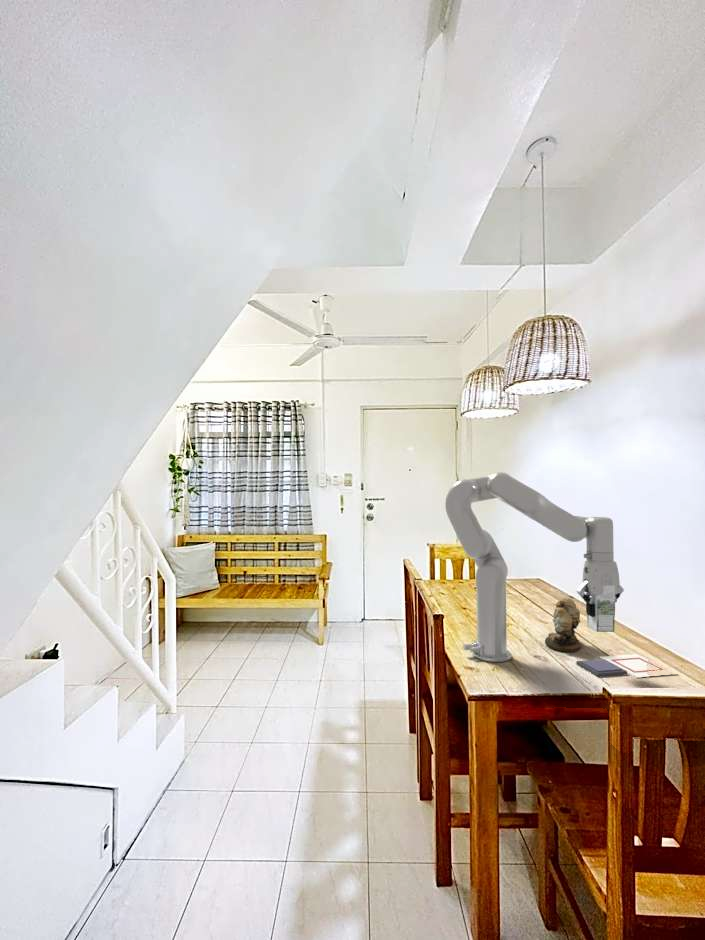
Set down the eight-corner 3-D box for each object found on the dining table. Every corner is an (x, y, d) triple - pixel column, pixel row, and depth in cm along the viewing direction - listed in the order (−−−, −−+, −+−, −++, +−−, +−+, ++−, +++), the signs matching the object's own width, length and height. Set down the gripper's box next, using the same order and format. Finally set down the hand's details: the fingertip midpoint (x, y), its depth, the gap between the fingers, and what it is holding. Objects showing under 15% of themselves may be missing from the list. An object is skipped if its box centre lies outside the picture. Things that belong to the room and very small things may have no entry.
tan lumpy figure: (545, 635, 187) (545, 590, 187) (579, 639, 182) (579, 593, 182) (544, 650, 170) (544, 600, 170) (582, 655, 165) (582, 604, 166)
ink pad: (597, 676, 147) (597, 672, 147) (576, 664, 157) (576, 660, 157) (626, 674, 149) (626, 670, 149) (604, 662, 159) (604, 658, 159)
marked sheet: (637, 678, 146) (637, 676, 146) (599, 657, 163) (599, 656, 163) (678, 674, 149) (678, 673, 149) (636, 654, 165) (636, 653, 165)
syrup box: (604, 626, 156) (604, 580, 156) (615, 632, 150) (614, 584, 151) (587, 626, 156) (586, 580, 156) (597, 632, 150) (596, 584, 150)
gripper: (582, 559, 148) (583, 620, 148) (633, 558, 151) (634, 616, 151) (567, 556, 156) (568, 613, 155) (616, 554, 159) (617, 610, 158)
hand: (600, 614), depth 153 cm, fingers closed on syrup box, 6 cm apart
